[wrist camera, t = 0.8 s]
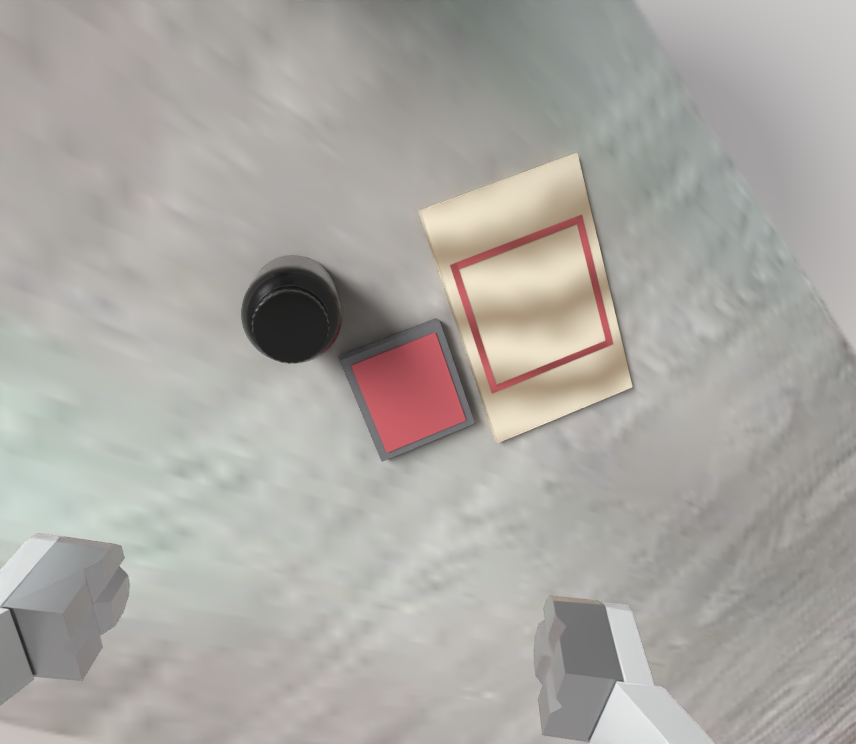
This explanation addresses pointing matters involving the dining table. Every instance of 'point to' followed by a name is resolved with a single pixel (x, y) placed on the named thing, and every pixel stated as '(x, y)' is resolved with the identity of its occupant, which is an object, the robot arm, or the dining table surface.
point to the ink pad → (408, 389)
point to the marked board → (529, 295)
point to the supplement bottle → (292, 310)
